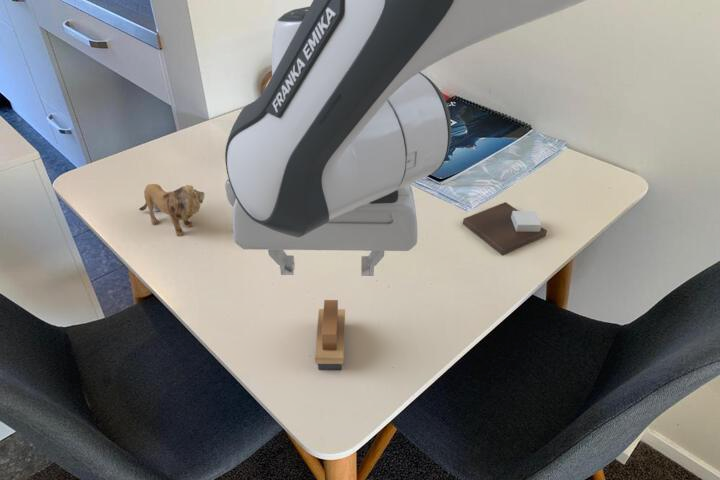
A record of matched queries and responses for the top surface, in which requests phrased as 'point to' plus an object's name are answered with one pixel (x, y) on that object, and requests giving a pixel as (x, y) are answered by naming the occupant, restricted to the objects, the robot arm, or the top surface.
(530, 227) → the chalk block
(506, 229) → the board
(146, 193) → the lion figurine
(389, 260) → the top surface
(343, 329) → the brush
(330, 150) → the robot arm
